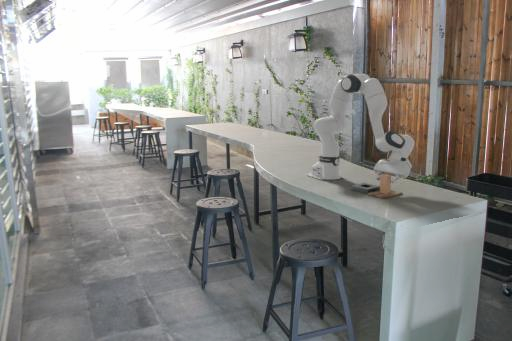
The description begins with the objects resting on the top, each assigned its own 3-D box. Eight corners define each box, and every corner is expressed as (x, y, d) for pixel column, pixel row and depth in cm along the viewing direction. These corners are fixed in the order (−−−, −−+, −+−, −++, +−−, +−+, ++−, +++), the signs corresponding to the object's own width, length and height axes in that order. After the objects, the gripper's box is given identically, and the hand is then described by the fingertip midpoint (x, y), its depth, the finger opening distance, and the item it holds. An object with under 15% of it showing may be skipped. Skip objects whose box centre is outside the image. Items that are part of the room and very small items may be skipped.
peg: (379, 192, 252) (380, 174, 250) (384, 191, 255) (385, 173, 252) (385, 194, 249) (386, 176, 247) (390, 192, 251) (391, 175, 249)
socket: (351, 189, 262) (351, 185, 262) (363, 186, 270) (363, 182, 269) (367, 193, 254) (367, 189, 253) (380, 190, 261) (380, 186, 260)
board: (367, 195, 251) (367, 193, 251) (385, 190, 261) (385, 188, 261) (384, 199, 243) (384, 197, 243) (402, 194, 253) (402, 192, 252)
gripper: (378, 154, 260) (367, 174, 256) (410, 159, 245) (399, 180, 240) (382, 161, 264) (371, 180, 260) (414, 167, 248) (403, 187, 244)
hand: (385, 180), depth 250 cm, fingers open, 8 cm apart
